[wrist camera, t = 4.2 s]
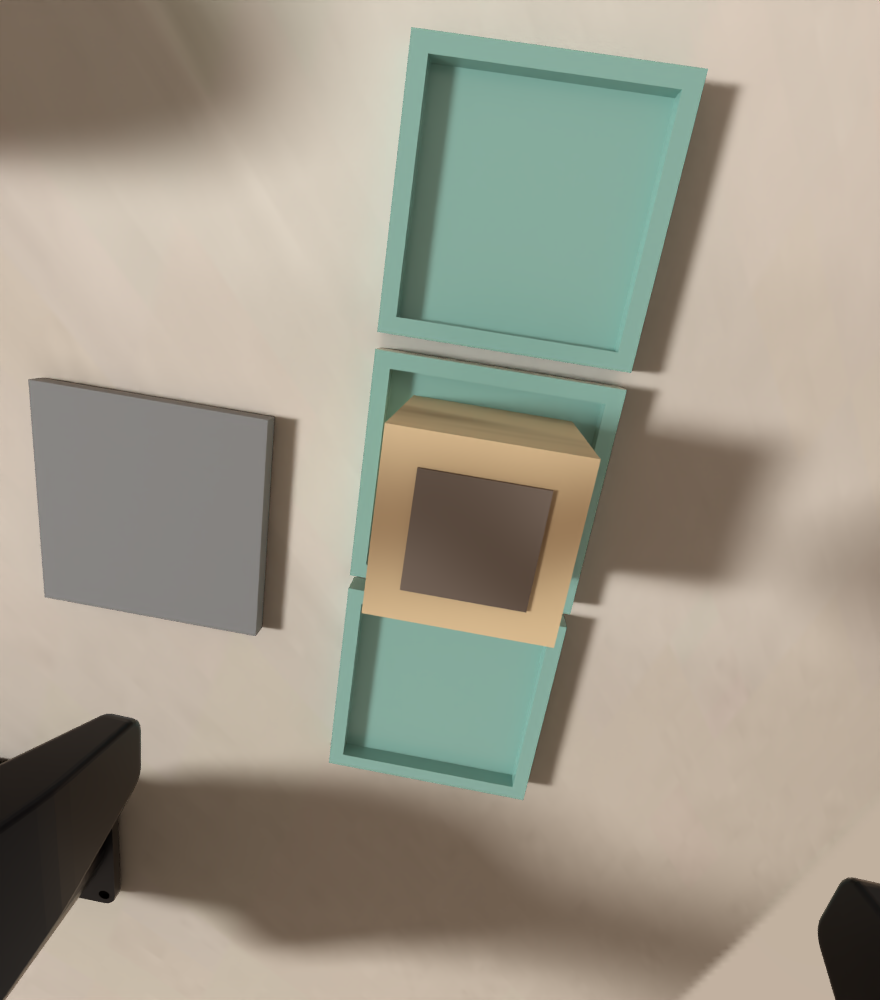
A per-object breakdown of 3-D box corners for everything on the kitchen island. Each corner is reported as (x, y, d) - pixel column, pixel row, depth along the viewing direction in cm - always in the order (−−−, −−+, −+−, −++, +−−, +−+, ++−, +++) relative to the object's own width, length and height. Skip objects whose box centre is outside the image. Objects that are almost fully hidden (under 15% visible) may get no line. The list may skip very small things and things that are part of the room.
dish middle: (566, 601, 20) (569, 614, 19) (356, 564, 20) (349, 575, 19) (620, 386, 18) (626, 390, 17) (381, 347, 18) (375, 349, 17)
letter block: (539, 566, 19) (554, 650, 14) (393, 541, 19) (360, 615, 15) (572, 421, 18) (601, 460, 13) (413, 395, 18) (384, 423, 13)
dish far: (522, 781, 22) (523, 799, 22) (335, 745, 23) (328, 762, 22) (563, 614, 20) (566, 627, 19) (354, 576, 20) (348, 588, 20)
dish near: (624, 370, 17) (631, 372, 17) (382, 331, 18) (377, 331, 17) (695, 82, 15) (708, 68, 14) (416, 43, 15) (411, 27, 14)
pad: (261, 627, 21) (255, 636, 21) (56, 589, 22) (44, 597, 21) (274, 416, 19) (268, 419, 18) (42, 377, 19) (28, 379, 19)
